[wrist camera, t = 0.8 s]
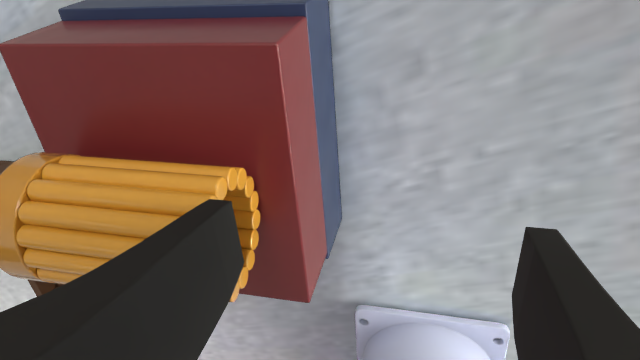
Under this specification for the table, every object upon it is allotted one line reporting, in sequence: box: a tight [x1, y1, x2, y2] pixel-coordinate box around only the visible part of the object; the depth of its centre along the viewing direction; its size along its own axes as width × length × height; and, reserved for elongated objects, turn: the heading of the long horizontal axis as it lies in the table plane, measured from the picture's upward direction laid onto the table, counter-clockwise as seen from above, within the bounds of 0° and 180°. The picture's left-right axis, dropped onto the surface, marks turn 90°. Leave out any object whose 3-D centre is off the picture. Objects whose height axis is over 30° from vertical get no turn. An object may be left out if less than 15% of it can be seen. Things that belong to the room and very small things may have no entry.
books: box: [0, 0, 342, 303], centre depth 19 cm, size 11×10×6 cm
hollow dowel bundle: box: [0, 152, 260, 302], centre depth 15 cm, size 7×4×4 cm, turn 94°
